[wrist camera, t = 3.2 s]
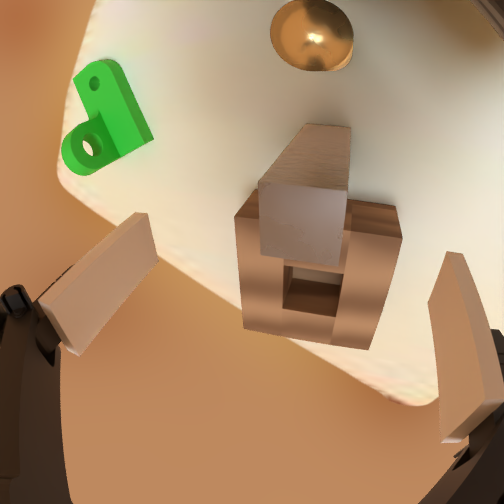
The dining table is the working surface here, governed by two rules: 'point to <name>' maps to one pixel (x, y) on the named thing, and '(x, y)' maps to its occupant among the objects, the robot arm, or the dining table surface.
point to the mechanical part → (104, 119)
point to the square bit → (306, 197)
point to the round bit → (312, 35)
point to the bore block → (320, 279)
